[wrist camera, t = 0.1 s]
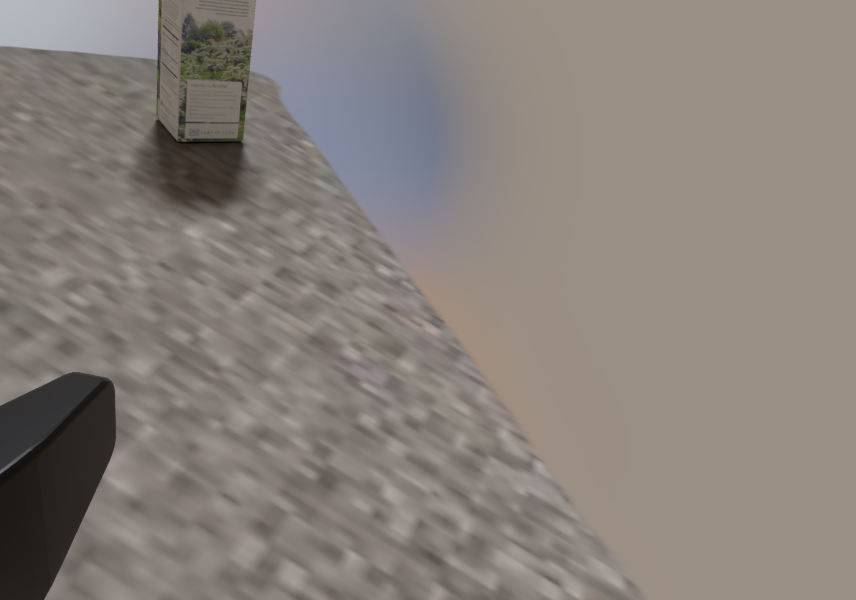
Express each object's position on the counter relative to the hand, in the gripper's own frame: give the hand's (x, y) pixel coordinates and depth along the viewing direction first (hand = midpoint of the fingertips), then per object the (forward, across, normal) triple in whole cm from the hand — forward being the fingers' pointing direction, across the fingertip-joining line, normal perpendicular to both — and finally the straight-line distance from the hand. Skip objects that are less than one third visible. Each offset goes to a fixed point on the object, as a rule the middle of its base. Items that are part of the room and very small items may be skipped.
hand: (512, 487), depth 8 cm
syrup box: (+52, +20, +16) cm, 58 cm away
